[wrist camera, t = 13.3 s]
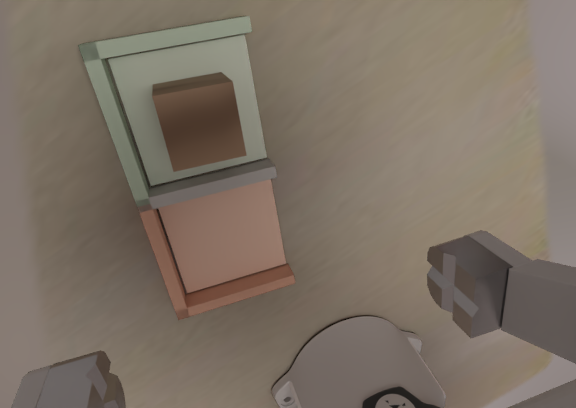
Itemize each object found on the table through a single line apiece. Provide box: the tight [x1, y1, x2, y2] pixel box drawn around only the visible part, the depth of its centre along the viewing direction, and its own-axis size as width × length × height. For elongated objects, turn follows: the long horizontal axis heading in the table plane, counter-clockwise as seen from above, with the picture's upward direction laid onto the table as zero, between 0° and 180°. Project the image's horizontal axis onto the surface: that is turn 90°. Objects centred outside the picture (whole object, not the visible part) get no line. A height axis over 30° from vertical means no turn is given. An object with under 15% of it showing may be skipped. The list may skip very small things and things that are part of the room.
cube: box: [152, 72, 247, 172], centre depth 28 cm, size 5×5×5 cm
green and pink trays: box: [78, 16, 295, 320], centre depth 32 cm, size 23×11×2 cm, turn 9°
